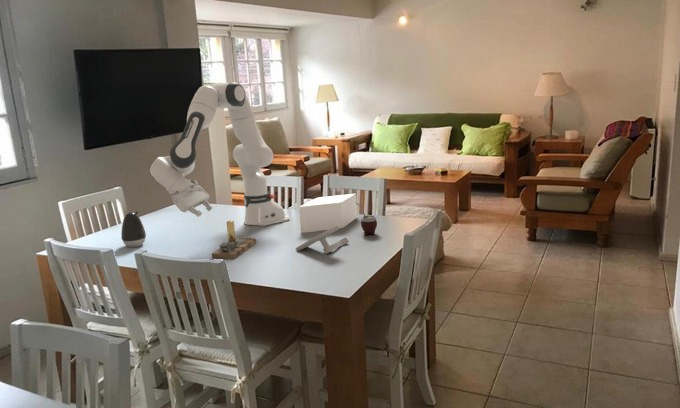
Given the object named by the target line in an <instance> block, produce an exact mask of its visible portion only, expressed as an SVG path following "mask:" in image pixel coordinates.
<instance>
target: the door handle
mask: <svg viewBox="0 0 680 408" xmlns="http://www.w3.org/2000/svg"><path fill="white" fill-rule="evenodd" d="M339 229H340V228H339V227H338V225H337V226H334V227H332V228H330V229H328V230H324V231H323V232H320V234H318V235H316V236H314V237H313V238H310V239H309V240H307V241H306V242H304V243H302V244H301V245H298V246H297V247H295V250H296V251H297V252H300V251H301V250H304V249H306V248H308V247H310V246H312V245H313V244H315V243H317V242H320V243H321V246H322V247H323V248H322V250H323V252H324V254H329V253H331V252H332V251H334V250H335V249H338V248H340V247H342V246H344V245H347V244H348V243H349V238H348V237H343V238H342V239H340V240H338V241H335V243H333V244H329V243H328V241H327V239H326V238H327V236H329V235H331V234H333V233H335V232H337V231H338V230H339Z"/></svg>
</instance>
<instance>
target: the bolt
mask: <svg viewBox="0 0 680 408" xmlns="http://www.w3.org/2000/svg"><path fill="white" fill-rule="evenodd" d="M226 230H227V232H226V233H227V239H228V241H227V242H234V246H235V245H236V244H237V243H238V241H236V238H237V237H236V230H235V220H227V221H226ZM223 250H224V251H228V247H223Z"/></svg>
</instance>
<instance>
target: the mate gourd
mask: <svg viewBox="0 0 680 408" xmlns="http://www.w3.org/2000/svg"><path fill="white" fill-rule="evenodd" d="M355 203H356V205H358V206H359V208H360V209H361V212H362V214H363V215H362V218H361V221H360V225H361V228H362V230H363V234H364V235H363V236H364V237H367V236H376V233H375V232H376V229H377V226H378V221H377V217H375V216H374V215H371V214H370V215H366V214H365V211H364V209H363V207H362V205H361V204H360V203H358V202H357V201H356V202H355Z"/></svg>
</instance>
